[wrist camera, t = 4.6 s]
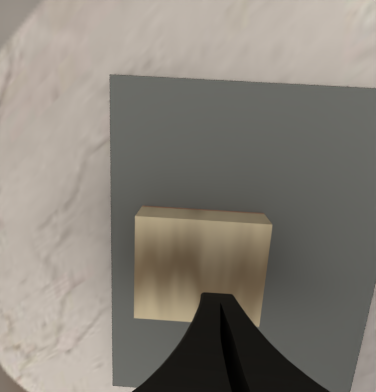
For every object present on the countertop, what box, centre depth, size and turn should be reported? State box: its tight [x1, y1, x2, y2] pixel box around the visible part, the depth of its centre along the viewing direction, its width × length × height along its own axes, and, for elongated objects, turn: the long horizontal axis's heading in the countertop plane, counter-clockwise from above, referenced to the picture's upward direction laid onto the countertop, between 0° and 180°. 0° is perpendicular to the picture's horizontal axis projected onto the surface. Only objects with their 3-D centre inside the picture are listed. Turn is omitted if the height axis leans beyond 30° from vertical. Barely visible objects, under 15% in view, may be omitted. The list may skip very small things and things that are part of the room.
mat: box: [110, 75, 376, 392], centre depth 17 cm, size 20×16×1 cm
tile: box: [134, 206, 272, 327], centre depth 16 cm, size 6×2×7 cm
